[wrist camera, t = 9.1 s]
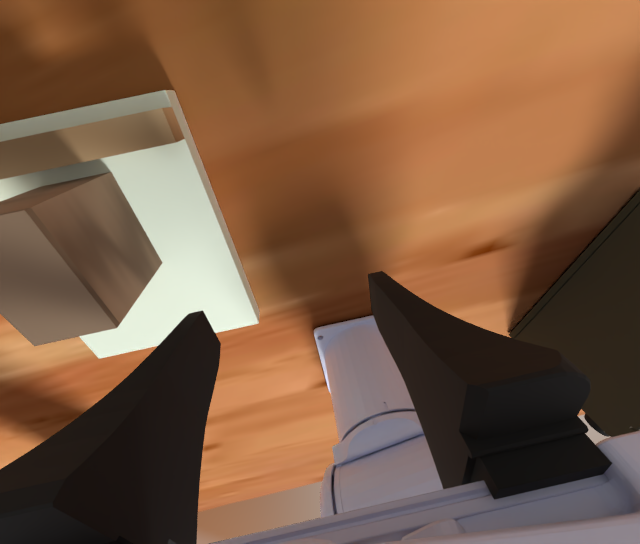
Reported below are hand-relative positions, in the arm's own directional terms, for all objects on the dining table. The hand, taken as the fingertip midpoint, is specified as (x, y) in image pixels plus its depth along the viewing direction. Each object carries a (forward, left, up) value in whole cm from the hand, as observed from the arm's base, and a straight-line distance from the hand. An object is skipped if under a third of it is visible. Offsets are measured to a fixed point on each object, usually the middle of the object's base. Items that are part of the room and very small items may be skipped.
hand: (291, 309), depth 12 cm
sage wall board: (+1, +11, -9) cm, 14 cm away
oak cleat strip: (+7, +10, -8) cm, 15 cm away
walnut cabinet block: (+3, +11, -8) cm, 13 cm away
